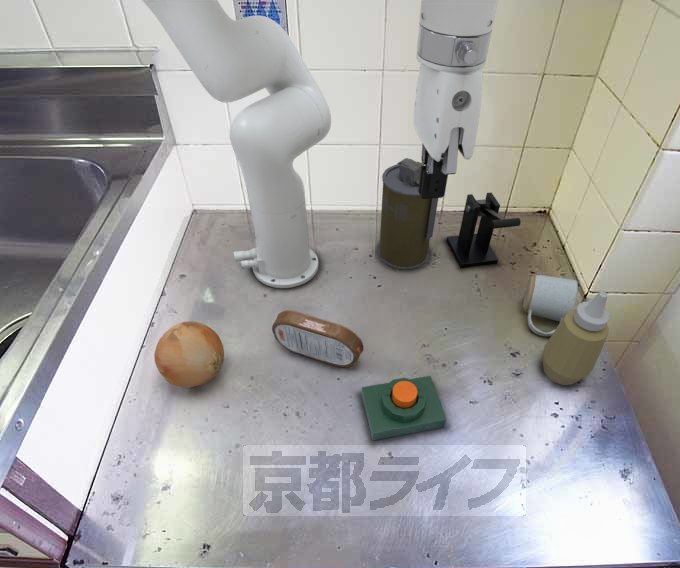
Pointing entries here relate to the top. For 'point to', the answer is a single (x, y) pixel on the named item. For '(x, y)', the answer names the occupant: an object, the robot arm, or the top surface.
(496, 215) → the lever
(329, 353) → the tin
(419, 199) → the canister
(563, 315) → the ceramic mug
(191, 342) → the onion
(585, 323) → the squeeze bottle
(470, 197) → the bracket
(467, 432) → the top surface
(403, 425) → the button box
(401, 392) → the button
